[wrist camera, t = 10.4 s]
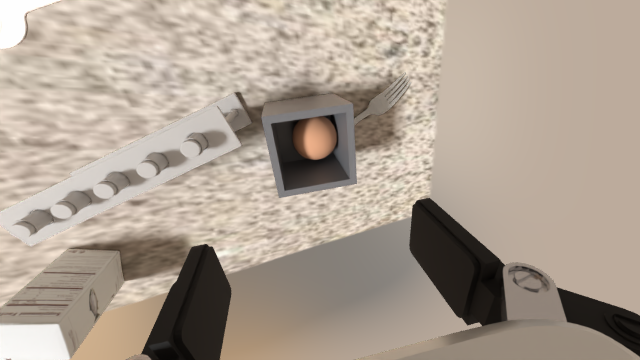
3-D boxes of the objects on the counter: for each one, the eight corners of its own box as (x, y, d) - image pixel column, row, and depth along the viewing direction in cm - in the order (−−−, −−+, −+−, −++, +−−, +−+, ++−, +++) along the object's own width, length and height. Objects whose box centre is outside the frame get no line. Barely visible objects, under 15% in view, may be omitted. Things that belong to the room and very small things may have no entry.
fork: (295, 150, 39) (295, 157, 37) (406, 66, 34) (414, 68, 32) (306, 162, 40) (306, 170, 38) (414, 83, 35) (422, 85, 33)
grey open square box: (265, 102, 33) (261, 116, 24) (332, 93, 33) (353, 103, 25) (278, 165, 37) (279, 197, 28) (337, 155, 38) (356, 183, 29)
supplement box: (126, 281, 42) (71, 361, 30) (75, 280, 40) (-3, 365, 29) (121, 249, 39) (59, 324, 28) (66, 246, 37) (-25, 326, 26)
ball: (281, 116, 31) (302, 124, 27) (319, 108, 34) (344, 113, 29) (289, 158, 34) (308, 171, 30) (323, 147, 37) (347, 157, 32)
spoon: (131, -4, 26) (129, -5, 25) (-16, 61, 26) (-21, 61, 26) (92, -68, 23) (88, -71, 23) (-70, 5, 24) (-77, 4, 23)
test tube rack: (235, 92, 32) (211, 108, 20) (252, 122, 34) (240, 153, 22) (73, 171, 32) (-41, 231, 21) (99, 195, 34) (9, 263, 23)
